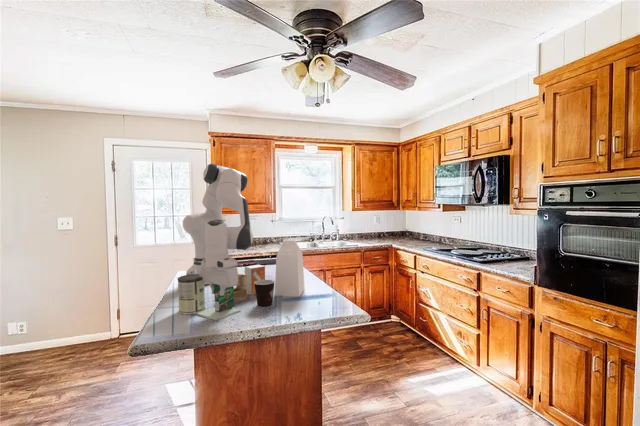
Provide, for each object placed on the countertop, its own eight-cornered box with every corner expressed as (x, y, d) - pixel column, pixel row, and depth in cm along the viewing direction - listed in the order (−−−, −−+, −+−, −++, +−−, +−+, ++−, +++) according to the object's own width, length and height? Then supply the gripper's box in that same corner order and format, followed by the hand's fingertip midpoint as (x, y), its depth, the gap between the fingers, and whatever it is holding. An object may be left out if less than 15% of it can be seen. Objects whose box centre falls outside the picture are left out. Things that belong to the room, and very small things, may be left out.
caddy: (217, 302, 141) (217, 278, 141) (238, 296, 151) (237, 273, 151) (227, 305, 138) (226, 280, 137) (247, 298, 147) (246, 274, 147)
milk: (304, 289, 161) (303, 238, 160) (299, 296, 149) (298, 241, 149) (281, 288, 163) (281, 238, 162) (274, 295, 152) (273, 241, 151)
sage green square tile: (196, 314, 127) (196, 313, 127) (221, 306, 137) (221, 304, 137) (215, 320, 120) (215, 319, 120) (240, 311, 130) (240, 309, 130)
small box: (251, 295, 152) (251, 268, 152) (244, 292, 157) (244, 266, 156) (265, 291, 158) (265, 265, 157) (258, 289, 162) (258, 264, 162)
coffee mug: (262, 309, 132) (262, 285, 131) (250, 305, 137) (250, 282, 137) (284, 302, 140) (283, 280, 140) (271, 298, 146) (271, 277, 146)
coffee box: (218, 312, 127) (218, 280, 126) (214, 311, 128) (213, 279, 128) (234, 307, 133) (234, 276, 133) (229, 305, 135) (229, 275, 134)
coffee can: (182, 307, 136) (181, 274, 135) (207, 305, 138) (206, 273, 137) (175, 315, 126) (174, 280, 125) (202, 313, 128) (201, 279, 127)
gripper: (194, 259, 131) (195, 292, 131) (227, 264, 119) (228, 300, 120) (207, 257, 136) (208, 289, 136) (240, 261, 124) (241, 296, 125)
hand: (218, 294), depth 128 cm, fingers open, 3 cm apart
